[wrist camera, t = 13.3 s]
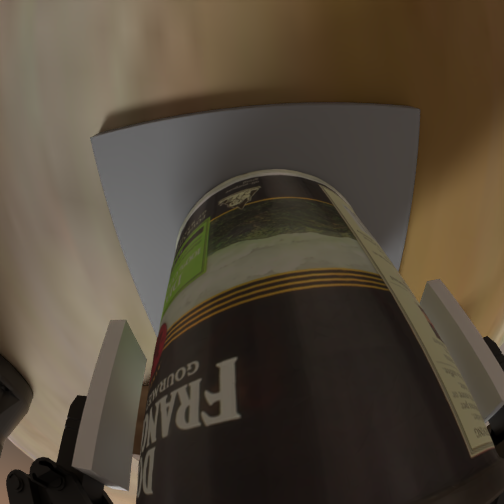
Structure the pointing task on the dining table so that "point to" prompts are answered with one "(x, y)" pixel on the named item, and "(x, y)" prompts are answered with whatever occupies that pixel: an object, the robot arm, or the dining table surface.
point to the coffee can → (302, 365)
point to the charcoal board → (248, 160)
